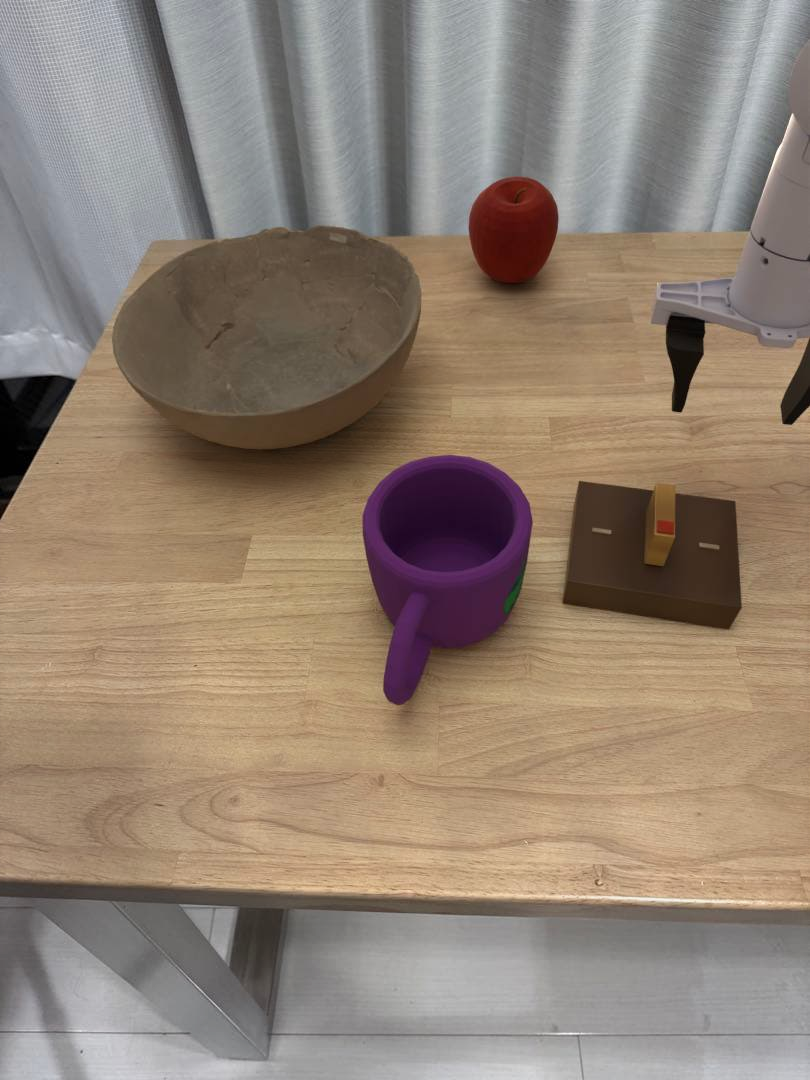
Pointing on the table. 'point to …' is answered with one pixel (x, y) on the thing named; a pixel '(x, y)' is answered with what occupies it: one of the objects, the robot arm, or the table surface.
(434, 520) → the mug
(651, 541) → the block with red patch
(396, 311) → the bowl
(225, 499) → the table surface
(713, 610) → the lock plate
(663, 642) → the table surface
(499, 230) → the apple
